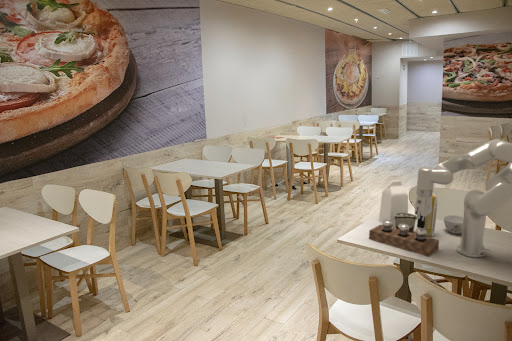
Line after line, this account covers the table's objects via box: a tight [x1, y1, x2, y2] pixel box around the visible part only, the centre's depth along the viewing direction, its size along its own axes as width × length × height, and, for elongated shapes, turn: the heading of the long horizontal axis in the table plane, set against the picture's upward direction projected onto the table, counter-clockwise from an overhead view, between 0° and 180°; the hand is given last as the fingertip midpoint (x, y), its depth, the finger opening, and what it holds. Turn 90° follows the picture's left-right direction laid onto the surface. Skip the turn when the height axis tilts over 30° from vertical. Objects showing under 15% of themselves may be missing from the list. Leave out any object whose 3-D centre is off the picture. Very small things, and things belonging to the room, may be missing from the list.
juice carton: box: [417, 192, 438, 238], centre depth 222 cm, size 9×8×24 cm
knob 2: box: [398, 224, 409, 237], centre depth 210 cm, size 5×5×6 cm
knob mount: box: [368, 224, 440, 257], centre depth 211 cm, size 32×12×5 cm, turn 46°
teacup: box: [443, 214, 464, 235], centre depth 225 cm, size 15×12×8 cm
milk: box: [378, 180, 409, 228], centre depth 239 cm, size 12×12×26 cm
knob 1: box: [381, 220, 393, 233], centre depth 216 cm, size 5×5×6 cm
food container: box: [394, 212, 418, 233], centre depth 228 cm, size 12×6×10 cm, turn 84°
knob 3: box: [414, 227, 427, 242], centre depth 203 cm, size 5×5×6 cm
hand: (420, 227), depth 203 cm, fingers closed
